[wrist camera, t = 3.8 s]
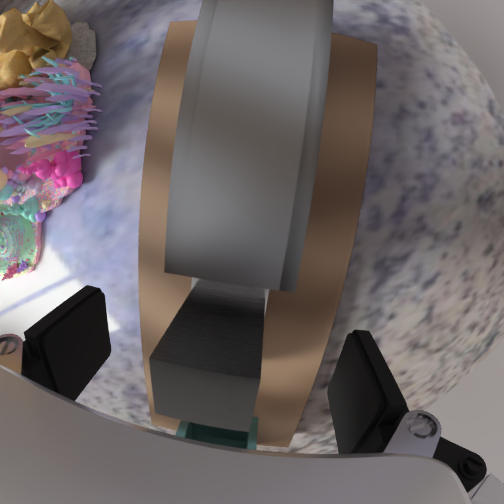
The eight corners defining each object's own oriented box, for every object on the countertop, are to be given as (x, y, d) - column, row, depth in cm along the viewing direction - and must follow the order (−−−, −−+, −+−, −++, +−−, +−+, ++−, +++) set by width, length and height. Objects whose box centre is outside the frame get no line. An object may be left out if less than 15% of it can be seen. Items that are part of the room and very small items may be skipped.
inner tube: (238, 34, 11) (207, -71, 3) (301, 40, 11) (324, -65, 3) (200, 363, 17) (163, 470, 9) (251, 371, 17) (238, 485, 9)
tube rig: (177, 31, 13) (134, -23, 7) (369, 53, 13) (414, 4, 6) (156, 412, 22) (132, 468, 15) (288, 434, 21) (289, 496, 15)
